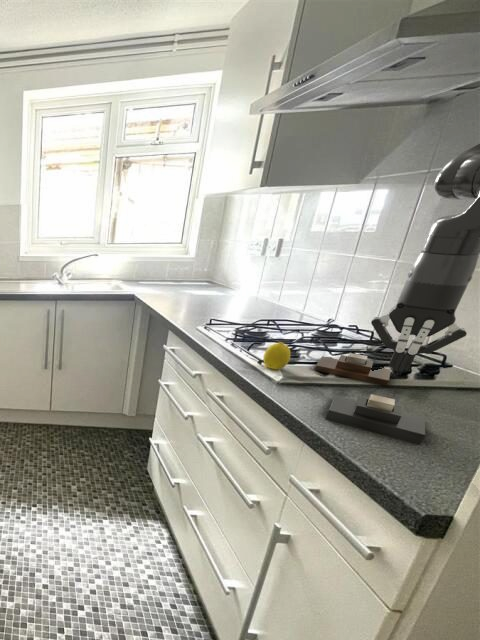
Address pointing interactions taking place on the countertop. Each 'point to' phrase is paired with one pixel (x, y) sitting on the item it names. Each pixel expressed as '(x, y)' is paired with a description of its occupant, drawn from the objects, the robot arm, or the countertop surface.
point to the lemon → (277, 356)
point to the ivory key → (381, 402)
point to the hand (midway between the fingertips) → (396, 370)
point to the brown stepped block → (353, 370)
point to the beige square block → (356, 358)
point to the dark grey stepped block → (377, 419)
